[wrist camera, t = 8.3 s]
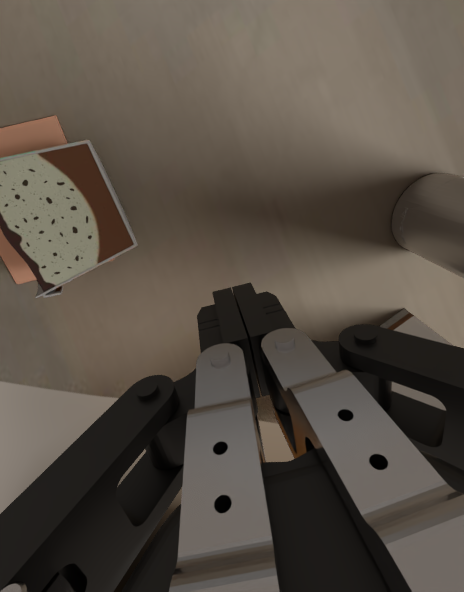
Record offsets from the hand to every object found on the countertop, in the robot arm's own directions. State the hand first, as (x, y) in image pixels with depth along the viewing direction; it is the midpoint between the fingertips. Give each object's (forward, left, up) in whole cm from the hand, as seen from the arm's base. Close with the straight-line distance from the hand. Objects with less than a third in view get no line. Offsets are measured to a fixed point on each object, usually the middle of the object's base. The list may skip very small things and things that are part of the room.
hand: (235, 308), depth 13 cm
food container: (+7, -2, -23) cm, 24 cm away
